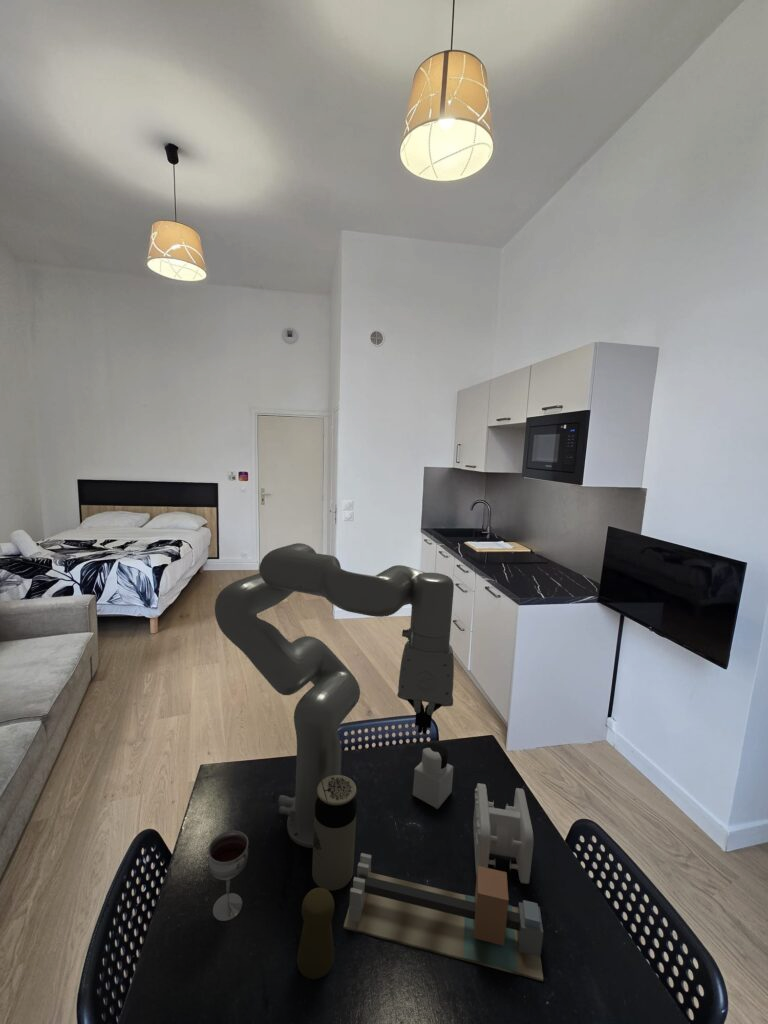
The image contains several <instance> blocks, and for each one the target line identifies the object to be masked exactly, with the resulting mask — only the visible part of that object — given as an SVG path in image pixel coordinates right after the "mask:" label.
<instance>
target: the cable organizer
mask: <svg viewBox="0 0 768 1024" xmlns="http://www.w3.org/2000/svg"><path fill="white" fill-rule="evenodd" d="M494 802H495V801H494V800H493V801H489V799H488V790H487V785H486V784H485V783H479V782H478V783H477V784H476V788H474V812H473V825H472V826H473V841H474V842H473V845H474V846H473V847H474V863H475V875H476V877H477V867H478V866H481V867H485V868H489V865H490V866H493V869H494V870H496V869H495V868H496V859H490V854H491V855H497V856H502V857H503V856H504V857H507V858H508V857H509V858H515V861H516V863H512V859H509V860H510V861H509V870H510V871H509V872H510V873H511V869H514V870H517V873H518V878H519V882H520V883H521V884H527V885H528V884H529V883H530V879H531V869H532V862H533V861H532V860H533V852H534V840H535V839H534V831H533V825H532V821H531V817H530V812H529V808H528V807H529V806H528V803H527V798H526V793H525V790H524V789H523V788H519V787H516V788H515V793H514V800H513V806H511V805H510V806H509V805H508V804H506V805H505V808H504V809H503V808H498V807H495V806H494V805H495V803H494Z"/></svg>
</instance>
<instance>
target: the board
mask: <svg viewBox="0 0 768 1024" xmlns="http://www.w3.org/2000/svg"><path fill="white" fill-rule="evenodd" d="M370 877H371V878H375V879H379V880H383V881H387V882H392V883H396V884H400V885H404V886H408V887H412V888H416V889H421V890H425V891H429V892H433V893H437V894H441V895H445V896H450V897H454V898H458V899H462V900H466V901H470V902H474V899H475V896H472V895H468V894H462V893H457V892H453V891H449V890H446V889H442V888H438V887H434V886H433V887H432V886H430V885H429V886H428V885H425V884H420V883H416V882H413V881H412V882H411V881H407V880H403V879H399V878H396V877H395V878H394V877H391V876H388V875H387V876H386V875H383V874H379V873H374V872H371V876H370ZM508 911H512V912H516V913H518V906H512V905H510V904H508ZM348 916H349V907H348V909H347V913H346V917H345V919H344V923H343V929H345V930H348V931H353V932H356V933H361V934H362V935H363V934H364V935H367V936H371V937H375V938H379V939H382V940H387V941H389V942H395V943H397V944H400V945H401V944H402V945H405V946H409V947H413V948H416V949H420V950H424V951H428V952H432V953H435V954H439V955H443V956H446V957H450V958H453V959H458V960H462V961H465V962H469V963H473V964H477V965H481V966H483V967H487V968H492V969H495V970H499V971H503V972H506V973H509V974H514V975H518V976H522V977H525V978H527V979H528V978H530V979H533V980H536V981H541V982H544V973H543V966H542V958H541V957H539V956H535V955H531V954H527V953H523V952H519V950H518V938H517V930H514V929H510V928H506V930H505V940H504V946H503V945H499V944H495V943H491V942H487V941H483V940H479V939H476V938H473V935H474V919H470V918H466V917H462V916H458V915H453V914H449V913H445V912H441V911H437V910H433V909H429V908H425V907H421V906H417V905H413V904H409V903H405V902H401V901H397V900H393V899H389V898H385V897H381V896H377V895H373V894H369V893H367V894H366V898H365V902H364V906H363V910H362V914H361V918H360V922H356V921H352V920H349V919H348Z"/></svg>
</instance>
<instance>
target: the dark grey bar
mask: <svg viewBox="0 0 768 1024" xmlns="http://www.w3.org/2000/svg"><path fill="white" fill-rule="evenodd" d="M359 878H361V879H365V891H364V892H365V893H369V894H373V895H377V896H381V897H385V898H389V899H393V900H397V901H401V902H405V903H409V904H413V905H417V906H421V907H425V908H429V909H433V910H437V911H441V912H445V913H449V914H453V915H458V916H462V917H466V918H470V919H474V920H475V903H474V902H470V901H466V900H462V899H458V898H454V897H450V896H445V895H441V894H437V893H433V892H429V891H425V890H421V889H416V888H412V887H408V886H404V885H400V884H396V883H392V882H387V881H383V880H379V879H375V878H371V877H367V876H363V875H359ZM506 928H510V929H514V930H518V931H519V928H520V917H519V913H516V912H512V911H507V921H506Z"/></svg>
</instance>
